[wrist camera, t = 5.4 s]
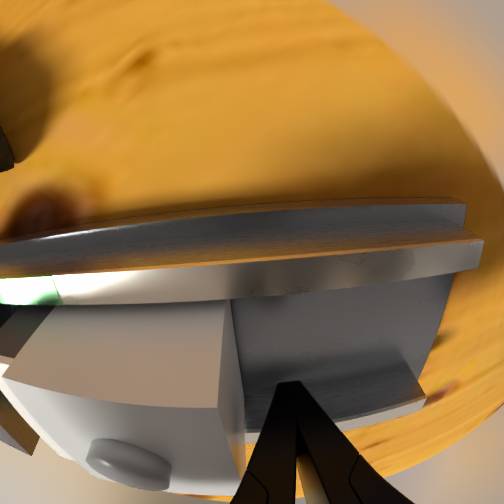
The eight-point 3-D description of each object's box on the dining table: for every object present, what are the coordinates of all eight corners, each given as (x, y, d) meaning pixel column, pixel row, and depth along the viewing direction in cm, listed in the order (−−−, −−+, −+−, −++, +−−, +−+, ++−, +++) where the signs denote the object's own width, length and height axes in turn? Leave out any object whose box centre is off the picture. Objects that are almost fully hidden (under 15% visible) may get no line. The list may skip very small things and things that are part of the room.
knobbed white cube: (227, 280, 9) (215, 434, 4) (244, 397, 11) (246, 509, 6) (70, 289, 9) (-9, 391, 4) (120, 394, 11) (91, 488, 6)
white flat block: (70, 289, 9) (9, 365, 5) (120, 394, 11) (96, 467, 7) (36, 290, 9) (-23, 355, 5) (88, 390, 11) (60, 456, 7)
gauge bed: (452, 197, 10) (559, 255, 4) (409, 371, 14) (451, 450, 8) (-29, 245, 10) (-97, 298, 4) (35, 380, 14) (1, 443, 8)
